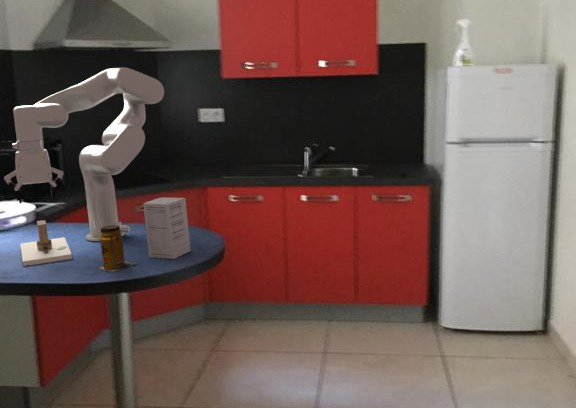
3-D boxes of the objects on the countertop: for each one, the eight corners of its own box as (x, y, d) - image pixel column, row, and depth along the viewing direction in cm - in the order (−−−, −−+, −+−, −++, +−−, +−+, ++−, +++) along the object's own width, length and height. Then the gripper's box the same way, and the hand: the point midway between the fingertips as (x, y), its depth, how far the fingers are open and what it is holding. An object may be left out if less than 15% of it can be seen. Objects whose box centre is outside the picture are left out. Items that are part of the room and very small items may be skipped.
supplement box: (191, 251, 204) (187, 197, 200) (174, 259, 196) (168, 204, 192) (166, 249, 208) (161, 196, 204) (147, 257, 200) (142, 202, 196)
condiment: (97, 268, 191) (92, 228, 189) (121, 261, 197) (117, 222, 195) (112, 272, 186) (107, 231, 184) (137, 264, 193) (132, 224, 190)
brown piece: (37, 246, 212) (33, 221, 210) (51, 244, 214) (48, 219, 212) (38, 253, 203) (35, 227, 202) (53, 251, 205) (50, 225, 203)
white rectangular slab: (20, 247, 219) (20, 242, 219) (65, 241, 224) (64, 236, 224) (23, 266, 197) (22, 260, 197) (72, 258, 202) (71, 253, 202)
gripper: (0, 149, 197) (7, 206, 200) (61, 145, 203) (67, 199, 207) (0, 147, 204) (7, 202, 207) (59, 143, 210) (65, 196, 213)
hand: (37, 200), depth 207 cm, fingers open, 9 cm apart
